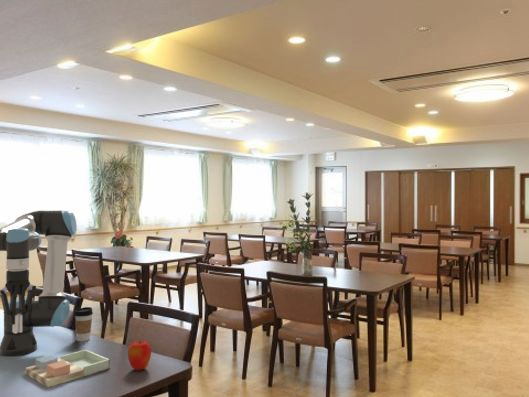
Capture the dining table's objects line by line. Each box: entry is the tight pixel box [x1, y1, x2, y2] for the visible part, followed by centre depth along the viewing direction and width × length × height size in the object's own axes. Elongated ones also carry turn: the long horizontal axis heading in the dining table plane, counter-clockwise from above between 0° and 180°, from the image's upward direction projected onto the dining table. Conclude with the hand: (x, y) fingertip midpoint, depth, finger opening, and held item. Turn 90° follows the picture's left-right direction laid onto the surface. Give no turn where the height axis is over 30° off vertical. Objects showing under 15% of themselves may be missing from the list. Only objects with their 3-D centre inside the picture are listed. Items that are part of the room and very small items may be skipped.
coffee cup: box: [74, 306, 94, 342], centre depth 224 cm, size 8×8×15 cm
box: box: [60, 349, 111, 377], centre depth 188 cm, size 19×11×4 cm, turn 50°
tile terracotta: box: [47, 361, 70, 377], centre depth 175 cm, size 6×6×3 cm
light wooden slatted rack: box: [25, 358, 85, 388], centre depth 178 cm, size 19×14×2 cm
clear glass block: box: [34, 354, 59, 370], centre depth 181 cm, size 6×6×3 cm
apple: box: [127, 340, 152, 371], centre depth 185 cm, size 9×9×12 cm
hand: (17, 332), depth 173 cm, fingers closed
